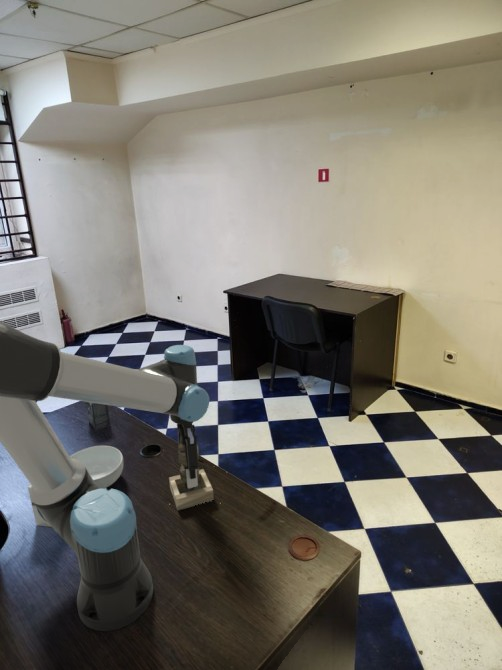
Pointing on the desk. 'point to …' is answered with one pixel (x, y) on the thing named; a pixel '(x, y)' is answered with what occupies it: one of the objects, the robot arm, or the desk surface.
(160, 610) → the desk surface
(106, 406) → the box
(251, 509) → the desk surface
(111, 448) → the cereal bowl
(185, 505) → the wooden square frame
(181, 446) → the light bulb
